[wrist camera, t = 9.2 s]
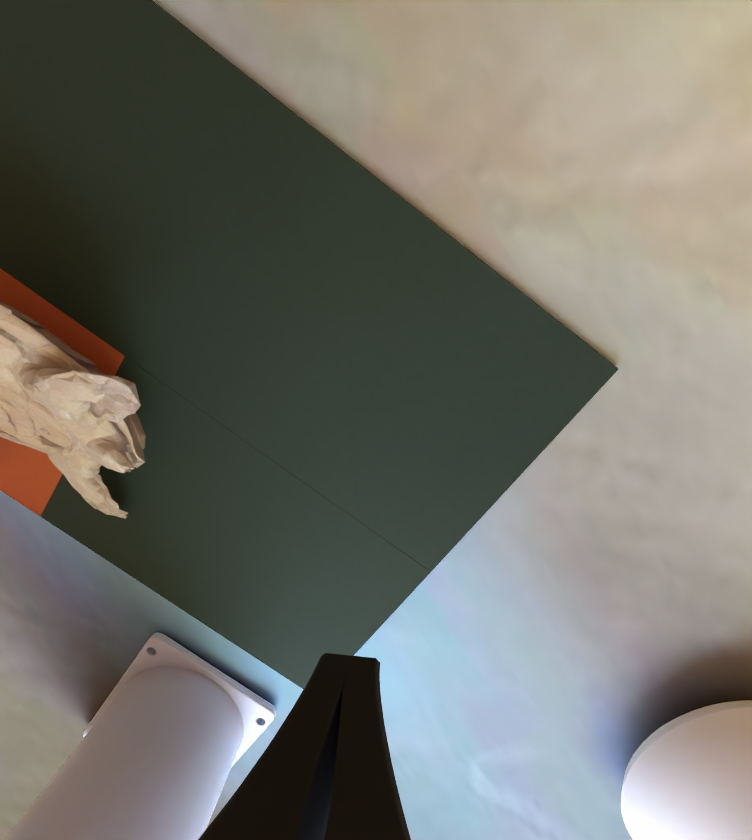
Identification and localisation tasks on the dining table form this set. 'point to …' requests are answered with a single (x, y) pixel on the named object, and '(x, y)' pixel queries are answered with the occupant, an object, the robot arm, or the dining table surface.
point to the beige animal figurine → (67, 408)
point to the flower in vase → (693, 777)
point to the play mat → (257, 336)
